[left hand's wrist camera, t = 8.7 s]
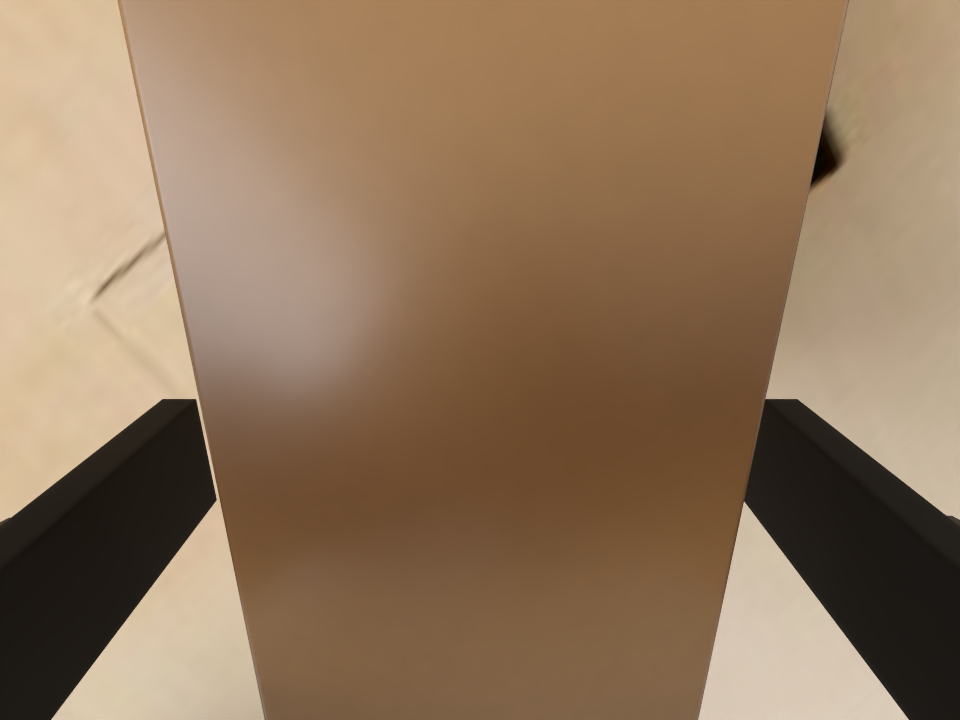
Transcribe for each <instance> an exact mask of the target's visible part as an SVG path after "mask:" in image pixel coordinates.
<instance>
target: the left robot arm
mask: <svg viewBox="0 0 960 720" xmlns="http://www.w3.org/2000/svg"><path fill="white" fill-rule="evenodd" d="M216 500H217V499H216V494H215V489H214V484H213V480H212V475H211V470H210V465H209V460H208V455H207V450H206V445H205V441H204V436H203V431H202V426H201V421H200V416H199V411H198V407H197V402H196V399H162V400H161V401H160V402H159V403H157V404H156V405H155V406H153V407H152V408H151V409H150V410H148V411H147V412H146V413H144V414H143V415H142V416H141V417H139V418H138V419H137V420H136V421H134V422H133V423H132V424H130V425H129V426H128V427H127V428H125V429H124V430H123V431H121V432H120V433H119V434H118V435H116V436H115V437H114V438H113V439H111V440H110V441H109V442H107V443H106V444H105V445H104V446H102V447H101V448H100V449H98V450H97V451H96V452H95V453H93V454H92V455H91V456H90V457H88V458H87V459H86V460H84V461H83V462H82V463H81V464H79V465H78V466H77V467H75V468H74V469H73V470H72V471H70V472H69V473H68V474H67V475H65V476H64V477H63V478H61V479H60V480H59V481H58V482H56V483H55V484H54V485H52V486H51V487H50V488H49V489H47V490H46V491H45V492H44V493H42V494H41V495H40V496H38V497H37V498H36V499H35V500H33V501H32V502H31V503H29V504H28V505H27V506H26V507H24V508H23V509H22V510H21V511H19V512H18V513H17V514H15V515H14V516H13V517H12V518H8V519H6V520H4V521H2V522H0V720H51V719H52V718H53V716H54V715H55V714H56V712H57V711H58V710H59V708H60V707H61V706H62V704H63V703H64V702H65V700H66V699H67V698H68V696H69V695H70V694H71V692H72V691H73V690H74V688H75V687H76V686H77V684H78V683H79V682H80V680H81V679H82V678H83V677H84V675H85V674H86V673H87V671H88V670H89V669H90V667H91V666H92V665H93V663H94V662H95V661H96V659H97V658H98V657H99V655H100V654H101V653H102V651H103V650H104V649H105V647H106V646H107V645H108V643H109V642H110V641H111V639H112V638H113V637H114V635H115V634H116V633H117V631H118V630H119V629H120V627H121V626H122V625H123V623H124V622H125V621H126V620H127V618H128V617H129V616H130V614H131V613H132V612H133V610H134V609H135V608H136V606H137V605H138V604H139V602H140V601H141V600H142V598H143V597H144V596H145V594H146V593H147V592H148V590H149V589H150V588H151V586H152V585H153V584H154V582H155V581H156V580H157V578H158V577H159V576H160V574H161V573H162V572H163V570H164V569H165V568H166V566H167V565H168V564H169V563H170V561H171V560H172V559H173V557H174V556H175V555H176V553H177V552H178V551H179V549H180V548H181V547H182V545H183V544H184V543H185V541H186V540H187V539H188V537H189V536H190V535H191V533H192V532H193V531H194V529H195V528H196V527H197V525H198V524H199V523H200V521H201V520H202V519H203V517H204V516H205V515H206V513H207V512H208V511H209V509H210V508H211V507H212V505H213V504H214V503H215V502H216ZM744 502H745V503H746V504H747V506H748V507H749V508H750V509H751V511H752V512H753V513H754V515H755V516H756V517H757V519H758V520H759V521H760V523H761V524H762V525H763V527H764V528H765V529H766V531H767V532H768V533H769V535H770V536H771V537H772V539H773V540H774V541H775V543H776V544H777V545H778V547H779V548H780V549H781V551H782V552H783V553H784V555H785V556H786V557H787V559H788V560H789V561H790V563H791V564H792V565H793V566H794V568H795V569H796V570H797V572H798V573H799V574H800V576H801V577H802V578H803V580H804V581H805V582H806V584H807V585H808V586H809V588H810V589H811V590H812V592H813V593H814V594H815V596H816V597H817V598H818V600H819V601H820V602H821V604H822V605H823V606H824V608H825V609H826V610H827V612H828V613H829V614H830V616H831V617H832V618H833V620H834V621H835V622H836V623H837V625H838V626H839V627H840V629H841V630H842V631H843V633H844V634H845V635H846V637H847V638H848V639H849V641H850V642H851V643H852V645H853V646H854V647H855V649H856V650H857V651H858V653H859V654H860V655H861V657H862V658H863V659H864V661H865V662H866V663H867V665H868V666H869V667H870V669H871V670H872V671H873V673H874V674H875V675H876V677H877V678H878V679H879V680H880V682H881V683H882V684H883V686H884V687H885V688H886V690H887V691H888V692H889V694H890V695H891V696H892V698H893V699H894V700H895V702H896V703H897V704H898V706H899V707H900V708H901V710H902V711H903V712H904V714H905V715H906V716H907V718H908V719H909V720H960V520H959V519H957V518H955V517H953V516H946V515H945V514H943V513H942V512H941V511H939V510H938V509H937V508H936V507H934V506H933V505H932V504H931V503H929V502H928V501H927V500H925V499H924V498H923V497H922V496H920V495H919V494H918V493H916V492H915V491H914V490H913V489H911V488H910V487H909V486H908V485H906V484H905V483H904V482H902V481H901V480H900V479H899V478H897V477H896V476H895V475H893V474H892V473H891V472H890V471H888V470H887V469H886V468H885V467H883V466H882V465H881V464H879V463H878V462H877V461H876V460H874V459H873V458H872V457H870V456H869V455H868V454H867V453H865V452H864V451H863V450H862V449H860V448H859V447H858V446H856V445H855V444H854V443H853V442H851V441H850V440H849V439H847V438H846V437H845V436H844V435H842V434H841V433H840V432H839V431H837V430H836V429H835V428H833V427H832V426H831V425H830V424H828V423H827V422H826V421H824V420H823V419H822V418H821V417H819V416H818V415H817V414H816V413H814V412H813V411H812V410H810V409H809V408H808V407H807V406H805V405H804V404H803V403H801V402H800V401H799V400H798V399H765V403H764V407H763V412H762V417H761V422H760V427H759V431H758V436H757V441H756V446H755V450H754V455H753V460H752V465H751V469H750V474H749V479H748V484H747V489H746V493H745V498H744Z"/></svg>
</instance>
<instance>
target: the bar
mask: <svg viewBox="0 0 960 720" xmlns="http://www.w3.org/2000/svg"><path fill="white" fill-rule="evenodd" d="M848 2H849V0H118V4H119V9H120V14H121V19H122V24H123V29H124V34H125V39H126V43H127V48H128V53H129V58H130V63H131V68H132V73H133V78H134V83H135V87H136V92H137V97H138V102H139V107H140V112H141V117H142V122H143V126H144V131H145V136H146V141H147V146H148V151H149V156H150V161H151V166H152V170H153V175H154V180H155V185H156V190H157V195H158V200H159V205H160V210H161V214H162V219H163V224H164V229H165V234H166V239H167V244H168V249H169V253H170V258H171V263H172V268H173V273H174V278H175V283H176V288H177V293H178V297H179V302H180V307H181V312H182V317H183V322H184V327H185V332H186V337H187V341H188V346H189V351H190V356H191V361H192V366H193V371H194V376H195V380H196V385H197V390H198V395H199V400H200V405H201V410H202V415H203V420H204V424H205V429H206V434H207V439H208V444H209V449H210V454H211V459H212V464H213V468H214V473H215V478H216V483H217V488H218V493H219V498H220V503H221V507H222V512H223V517H224V522H225V527H226V532H227V537H228V542H229V547H230V551H231V556H232V561H233V566H234V571H235V576H236V581H237V586H238V591H239V595H240V600H241V605H242V610H243V615H244V620H245V625H246V630H247V634H248V639H249V644H250V649H251V654H252V659H253V664H254V669H255V674H256V678H257V683H258V688H259V693H260V698H261V703H262V708H263V713H264V718H265V720H698V718H699V713H700V708H701V703H702V698H703V694H704V689H705V684H706V679H707V675H708V670H709V665H710V660H711V655H712V651H713V646H714V641H715V636H716V632H717V627H718V622H719V617H720V613H721V608H722V603H723V598H724V593H725V589H726V584H727V579H728V574H729V570H730V565H731V560H732V555H733V551H734V546H735V541H736V536H737V531H738V527H739V522H740V517H741V512H742V508H743V503H744V498H745V493H746V489H747V484H748V479H749V474H750V469H751V465H752V460H753V455H754V450H755V446H756V441H757V436H758V431H759V427H760V422H761V417H762V412H763V407H764V403H765V398H766V393H767V388H768V384H769V379H770V374H771V369H772V365H773V360H774V355H775V350H776V345H777V341H778V336H779V331H780V326H781V322H782V317H783V312H784V307H785V303H786V298H787V293H788V288H789V283H790V279H791V274H792V269H793V264H794V260H795V255H796V250H797V245H798V241H799V236H800V231H801V226H802V221H803V217H804V212H805V207H806V202H807V198H808V193H809V188H810V183H811V179H812V174H813V169H814V164H815V159H816V155H817V150H818V145H819V140H820V136H821V131H822V126H823V121H824V117H825V112H826V107H827V102H828V97H829V93H830V88H831V83H832V78H833V74H834V69H835V64H836V59H837V55H838V50H839V45H840V40H841V35H842V31H843V26H844V21H845V16H846V12H847V7H848Z"/></svg>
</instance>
